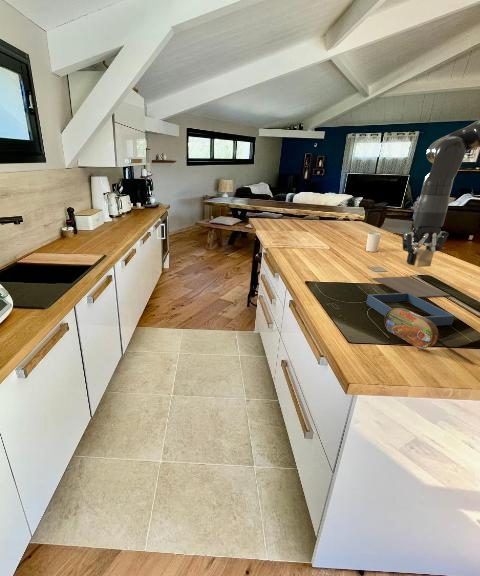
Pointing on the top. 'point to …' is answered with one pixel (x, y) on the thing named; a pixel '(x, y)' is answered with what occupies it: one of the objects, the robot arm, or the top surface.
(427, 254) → the block
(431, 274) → the top surface
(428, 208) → the robot arm
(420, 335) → the tin
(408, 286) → the board
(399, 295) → the blue rectangular frame
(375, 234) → the drinking glass
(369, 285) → the top surface
